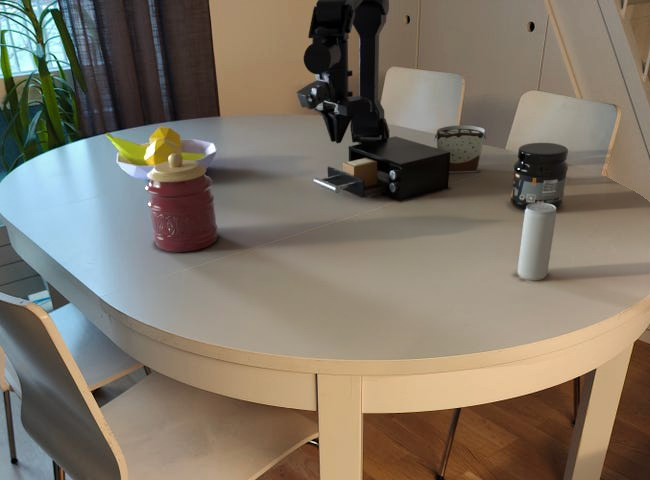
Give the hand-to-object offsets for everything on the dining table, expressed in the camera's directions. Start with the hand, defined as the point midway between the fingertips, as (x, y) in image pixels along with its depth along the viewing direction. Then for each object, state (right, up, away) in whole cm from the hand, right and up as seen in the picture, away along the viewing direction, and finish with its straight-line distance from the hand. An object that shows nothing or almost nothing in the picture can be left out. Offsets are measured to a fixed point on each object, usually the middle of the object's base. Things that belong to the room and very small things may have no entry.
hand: (336, 142), depth 151 cm
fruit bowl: (-43, +1, +32) cm, 53 cm away
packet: (+6, -7, +8) cm, 13 cm away
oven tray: (+5, -8, +8) cm, 13 cm away
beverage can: (+31, -34, -35) cm, 57 cm away
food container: (+31, 0, +20) cm, 37 cm away
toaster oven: (+15, -6, +12) cm, 21 cm away
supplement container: (+42, -15, -6) cm, 45 cm away
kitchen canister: (-31, -24, -11) cm, 41 cm away
